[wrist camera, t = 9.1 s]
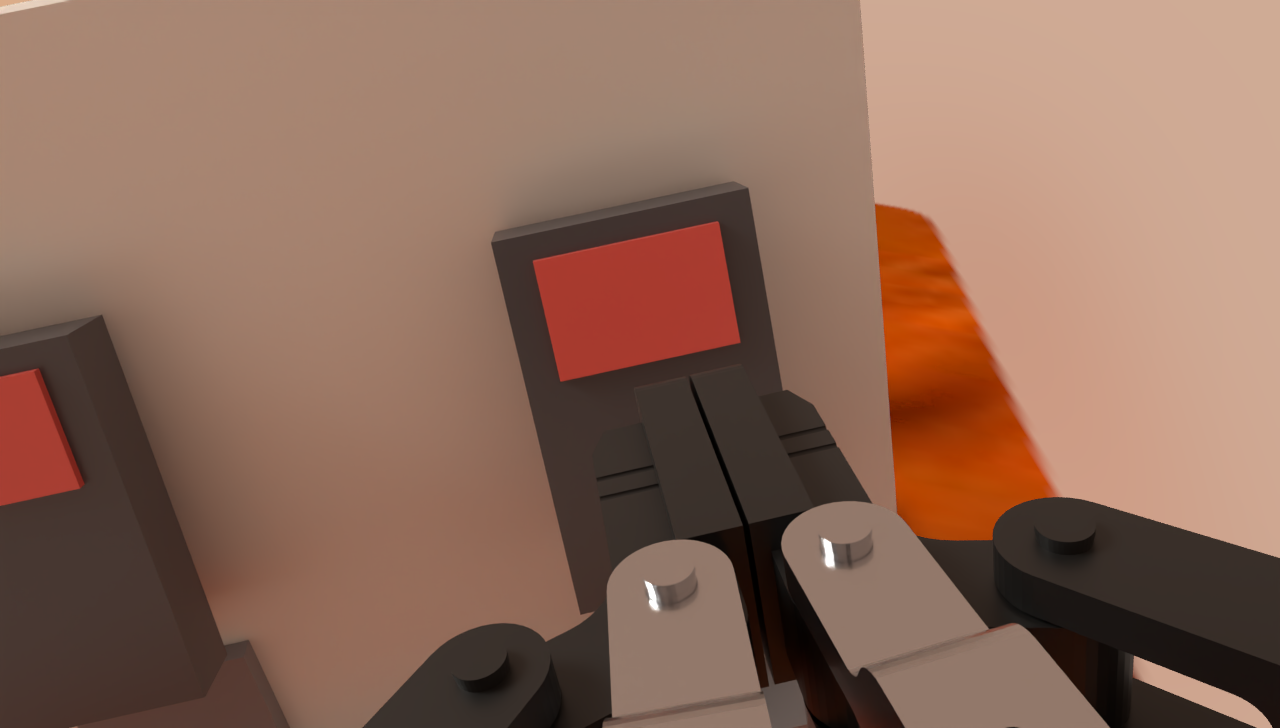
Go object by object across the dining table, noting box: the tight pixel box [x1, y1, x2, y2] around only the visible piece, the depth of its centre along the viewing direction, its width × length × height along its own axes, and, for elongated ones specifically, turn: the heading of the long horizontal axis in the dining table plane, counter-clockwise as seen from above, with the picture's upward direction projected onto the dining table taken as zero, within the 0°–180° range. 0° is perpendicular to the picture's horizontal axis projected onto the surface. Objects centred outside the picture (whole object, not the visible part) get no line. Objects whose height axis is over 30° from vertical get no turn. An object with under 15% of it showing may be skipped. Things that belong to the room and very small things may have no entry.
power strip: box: [0, 0, 897, 728], centre depth 25 cm, size 10×25×20 cm, turn 97°
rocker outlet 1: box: [0, 315, 227, 728], centre depth 21 cm, size 2×5×8 cm, turn 98°
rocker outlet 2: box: [491, 181, 783, 615], centre depth 21 cm, size 2×5×8 cm, turn 98°
